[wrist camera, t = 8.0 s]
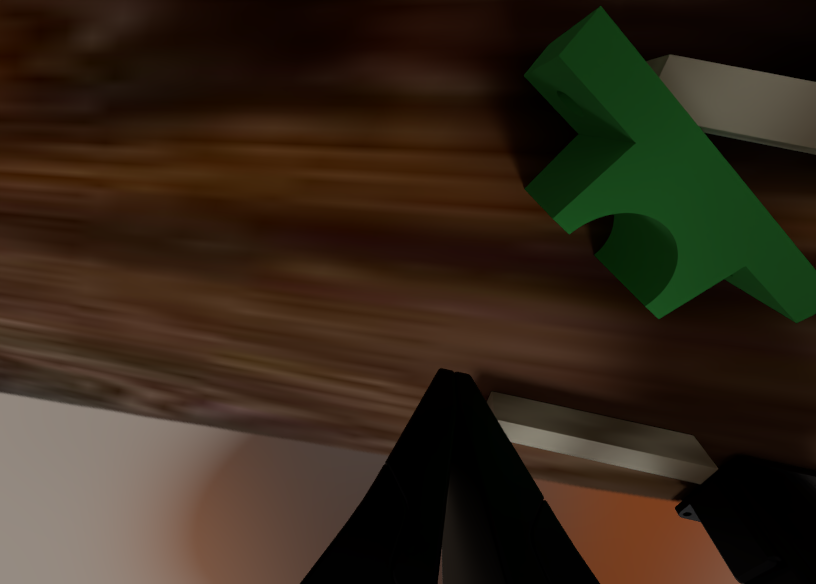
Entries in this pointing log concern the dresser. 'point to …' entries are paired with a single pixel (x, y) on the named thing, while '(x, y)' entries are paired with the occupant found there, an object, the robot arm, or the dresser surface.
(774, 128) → the slot rails
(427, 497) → the robot arm
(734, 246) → the pipe clamp
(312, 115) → the dresser surface
